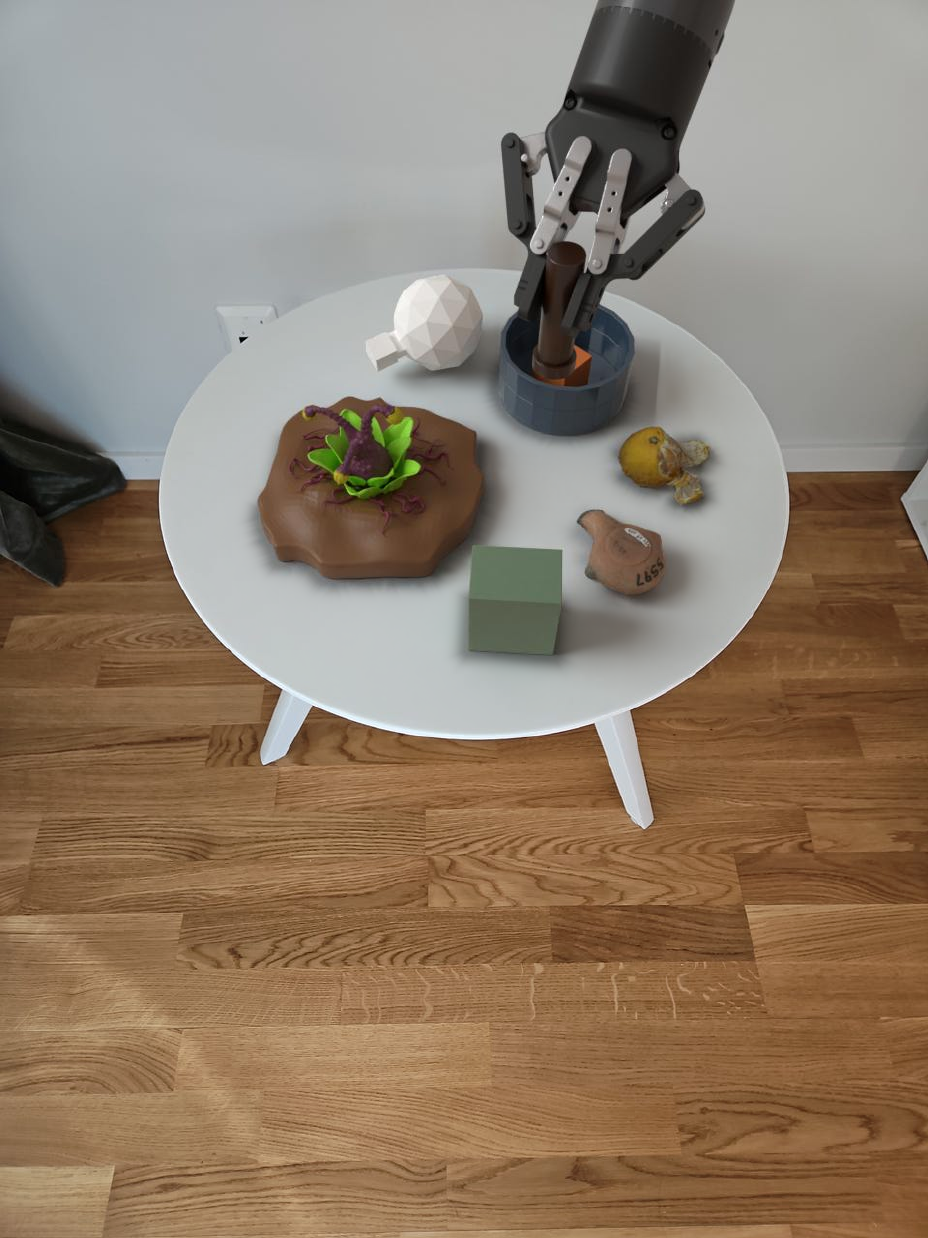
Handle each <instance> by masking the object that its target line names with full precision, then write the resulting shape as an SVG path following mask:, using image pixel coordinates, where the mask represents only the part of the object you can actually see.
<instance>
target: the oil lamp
mask: <svg viewBox="0 0 928 1238" xmlns="http://www.w3.org/2000/svg"><path fill="white" fill-rule="evenodd" d="M576 523H577V525H579V526H581V528H582V529H584V530H585V531H586V532H587V533H588V534H589V536H590V537H591V538H592V540H593V544H592V546H591V550H590V553H589V556H588V562H587V565H586V567H585V569H584V575H585V577H586V578H587V579H590V580H591V581H594V582H597V583H600V584H601V585H603V586H605V587H606V588H608V589H610V590H613V591H614V592H618V593H621V594H627V595H637V594H642V593H647V592H648V591H650V590H652V589H654V588H655V587H656V586H657V585H658V584H659V583H660V582H661V580H662V578H663V577H664V575H665V572H666V567H667V563H666V562H667V561H666V557H665V552H664V548H663V539H662V535H661V534H659V533H658V532H656V531H654V530H651V529H647V528H643V527H640V526H637V525H634V524H630V523H624V522H621V521H620V520H618V519H616V518H614V517H613V516H611V515H609V514H608V513H606V511H604V510H603V509H589V510H585V511H583V513H581V514H580V515H579V516H578V518H577V520H576Z"/></svg>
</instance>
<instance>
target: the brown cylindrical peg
mask: <svg viewBox="0 0 928 1238" xmlns="http://www.w3.org/2000/svg"><path fill="white" fill-rule="evenodd" d="M586 260H587V251H586V250H585V248H584V247H583V246H582V245H581V244H579V243H577V242H575V241H569V240H565V241H561V242H557V243H555V244H553V245H551V246H550V247H549V249H548V251H547V258H546V269H545V279H544V290H543V300H542V311H541V321H540V331H539V342H538V345H536V347H535V348H534V351H533V359H532V366H533V369H534V371H535V372H536V373H537V374H538V375H539V376H541V377H543V378H545V379H550V380H560V379H564V378H566V377H568V376H570V375H571V374H572V373H573V371H574V369H575V365H576V358H577V353H576V350H575V348H574V341H575V338H572V337H570V336H567V335H564V334H563V333H561V332H560V328H561V324H562V321H563V319H564V316H565V313H566V311H567V308H568V305H569V303H570V300H571V297H572V294H573V292H574V289H575V286H576V284H577V281H578V278H579V276H580V273H581V272H584V273H585V269H586Z"/></svg>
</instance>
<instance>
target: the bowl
mask: <svg viewBox="0 0 928 1238" xmlns="http://www.w3.org/2000/svg"><path fill="white" fill-rule="evenodd" d="M541 311H542V305H541V308H540V311H539V313H538V316H537V319H536V320H535V322H534V323H532V322H529V321H526V320H523V319H521V318H520V317H518V315H517V313H518V310H517V311H516V312H514V313H513V314H512V315H511V316H510V317H508V319H507V321H506V322H505V324H504V326H503V328H502V330H501V331H500V344H499V365H498V368H499V369H498V371H499V372H498V385H497V386H498V394H499V398H500V402H501V403H502V405H503V407H504V409H505V410H506V411H507V413H508V414H509V415H510V416H511V417H512V418H514V420H515V421H517V422H518V423H520V424H521V425H523V426H525V427H526V428H528V429H530V430H532V431H536V432H539V433H542V434H546V435H550V436H560V437H573V436H580V435H584V434H589V433H591V432H594V431H597V430H599V429H601V428H603V427H605V426H606V425H608V424H609V423H610V422H611V421H613V420H614V419H615V418H616V416H617V415H618V414H619V413H620V411H621V409H622V407H623V405H624V402H625V399H626V396H627V392H628V387H629V383H630V378H631V374H632V368H633V364H634V359H635V354H636V345H635V343H636V342H635V336H634V334H633V333H632V331H631V329H630V326H629V325H628V323H627V322H626V321H625V320H624V319H623V318H622V317H621V316H619V315H618V314H617V313H616V312H615V311H614V310H612V309H610V308H608V307H606V306H604V305H603V304H599V307H598V309H597V312H596V314H595V317H594V320H593V322H592V325H591V326H590V327H589V329H588V330H587V331H586V332H585V331H582V330H580V331H579V333H578V335H577V337H576V338H575V341H574V345H576V346H577V347H579V348H580V349H582V350H584V351H585V352H587V353H588V354H590V355H591V356H592V361H591V367H590V373H589V380H588V385H585V386H580V387H569V386H555V385H552V384H548V383H545V382H541V381H538V380H536V379H534V378H533V377H532V369H533V366H532V359H533V351H534V348H535V347H536V345H538V342H539V331H540V321H541Z"/></svg>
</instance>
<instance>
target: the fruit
mask: <svg viewBox="0 0 928 1238" xmlns="http://www.w3.org/2000/svg"><path fill="white" fill-rule="evenodd" d="M709 448H710V447H709V445H707V444H706V443H705V442H703V441H702V440H698V439H697V440H696V439H692V440H689V441H684V442H678V441H676V439H674V438H673V437H672V436H670V435H669V433H667V432H666V430H664V429H663V428H662V427H661V426H647V427H643V428H641V429H639V430H637V431H635V432H632V433H631V434H630V435H629V436H628V438H626V439H625V441H624V442H623V443H622V445H621V446H620V449H619V453H618V455H617V459H618V463H619V465H620V468H621V471H622V472H623V473H624V477H627V478H630V479H631V481H632V483H634V484H635V485H637V486H639V487H640V488H642V487H646V488H654V489H659V488H660V487H662V486H664V485H667V486H674V487H675V493H674V496H673V497H674V500H675V501H676V502H677V504H680V505H682V506H683V505H686V504H687V503H691V502H693V503H694V502H697V501H699V500H700V499H702V498H703V497H704V496H705V493H704V491H703V490H702V486H701V484H699V476H698V475H697V474H693V473H692V472H689V471H687V470H684V469H683V468H685V467H689V468H691V467H694V466H698V465H701V464H702V463H703V462H704V461H706V459H707V458H708V457H709V456H710V452H709Z"/></svg>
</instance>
